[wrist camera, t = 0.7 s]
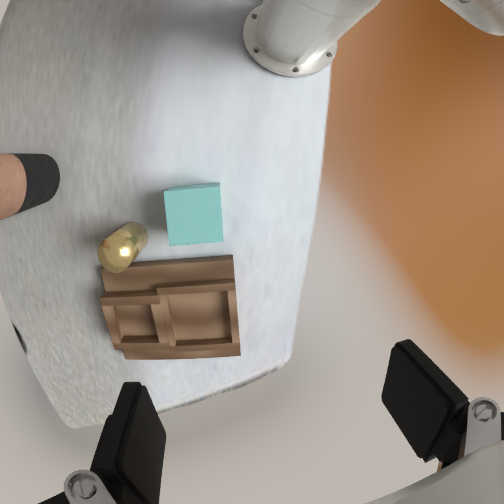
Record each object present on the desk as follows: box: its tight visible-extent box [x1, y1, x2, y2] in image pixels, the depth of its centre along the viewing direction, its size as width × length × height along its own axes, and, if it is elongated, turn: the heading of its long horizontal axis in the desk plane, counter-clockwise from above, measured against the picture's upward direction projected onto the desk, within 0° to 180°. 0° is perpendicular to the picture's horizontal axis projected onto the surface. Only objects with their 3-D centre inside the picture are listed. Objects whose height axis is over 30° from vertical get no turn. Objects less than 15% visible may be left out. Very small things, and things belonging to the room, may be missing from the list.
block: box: [164, 183, 223, 246], centre depth 34 cm, size 6×6×6 cm
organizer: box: [100, 255, 241, 360], centre depth 38 cm, size 15×18×4 cm
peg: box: [98, 222, 148, 273], centre depth 33 cm, size 4×4×8 cm
